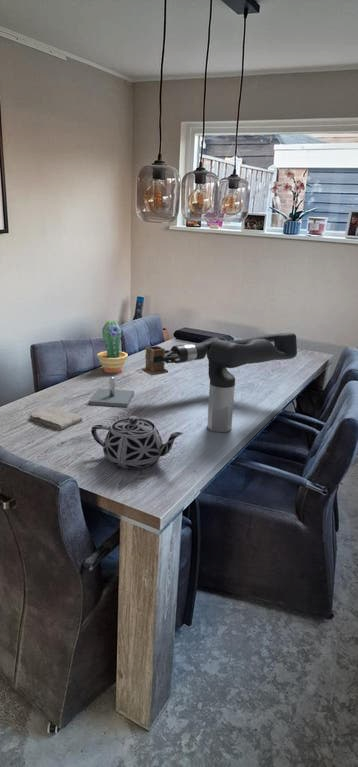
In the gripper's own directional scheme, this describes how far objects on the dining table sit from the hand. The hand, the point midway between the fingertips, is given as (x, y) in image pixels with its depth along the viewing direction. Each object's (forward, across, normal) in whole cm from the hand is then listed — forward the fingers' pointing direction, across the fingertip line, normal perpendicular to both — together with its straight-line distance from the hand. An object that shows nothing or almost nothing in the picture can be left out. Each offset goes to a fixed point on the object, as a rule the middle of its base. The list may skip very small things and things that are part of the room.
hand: (149, 358), depth 209 cm
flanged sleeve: (-3, 0, -6) cm, 7 cm away
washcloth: (+40, +2, -20) cm, 45 cm away
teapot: (+31, -43, -20) cm, 56 cm away
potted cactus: (-8, +49, -20) cm, 53 cm away
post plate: (+11, +12, -20) cm, 25 cm away
